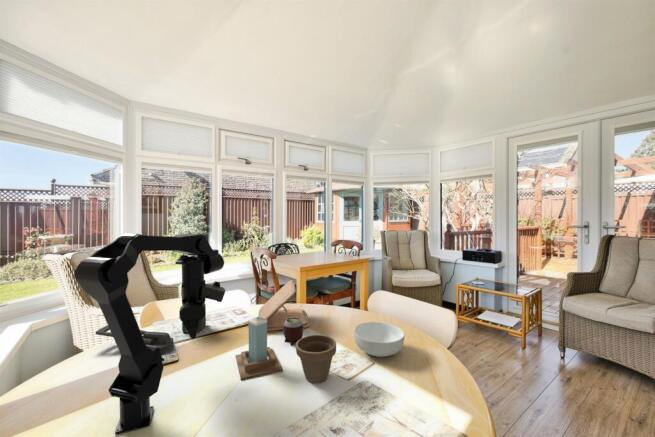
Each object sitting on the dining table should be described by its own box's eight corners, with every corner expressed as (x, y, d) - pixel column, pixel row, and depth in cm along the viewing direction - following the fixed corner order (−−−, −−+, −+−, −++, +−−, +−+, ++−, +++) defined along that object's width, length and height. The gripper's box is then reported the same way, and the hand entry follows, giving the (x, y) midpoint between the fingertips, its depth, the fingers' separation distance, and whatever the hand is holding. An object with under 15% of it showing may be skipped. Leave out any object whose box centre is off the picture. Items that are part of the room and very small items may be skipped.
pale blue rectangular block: (256, 366, 89) (256, 323, 88) (248, 361, 91) (248, 320, 91) (267, 360, 92) (267, 319, 91) (259, 356, 94) (259, 316, 94)
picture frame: (282, 370, 87) (282, 362, 87) (240, 380, 83) (240, 371, 83) (272, 350, 100) (272, 342, 100) (235, 357, 96) (235, 349, 96)
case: (259, 314, 135) (258, 280, 134) (304, 311, 138) (304, 277, 138) (256, 333, 114) (256, 293, 114) (310, 329, 118) (310, 290, 118)
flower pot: (299, 392, 77) (299, 355, 77) (293, 369, 88) (292, 336, 88) (341, 385, 80) (341, 349, 80) (330, 364, 91) (330, 332, 91)
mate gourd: (304, 337, 110) (304, 298, 109) (300, 347, 102) (300, 305, 101) (284, 337, 110) (284, 297, 110) (279, 346, 103) (279, 304, 102)
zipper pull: (113, 321, 108) (177, 324, 105) (114, 339, 109) (177, 343, 106) (91, 332, 99) (160, 335, 97) (92, 351, 100) (160, 355, 97)
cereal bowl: (381, 370, 88) (381, 347, 87) (343, 350, 101) (343, 329, 100) (414, 352, 98) (414, 332, 98) (376, 336, 111) (376, 317, 111)
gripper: (225, 282, 78) (226, 340, 79) (221, 269, 95) (221, 316, 96) (178, 287, 74) (179, 348, 74) (183, 272, 91) (183, 322, 91)
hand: (194, 332), depth 84 cm, fingers open, 9 cm apart
